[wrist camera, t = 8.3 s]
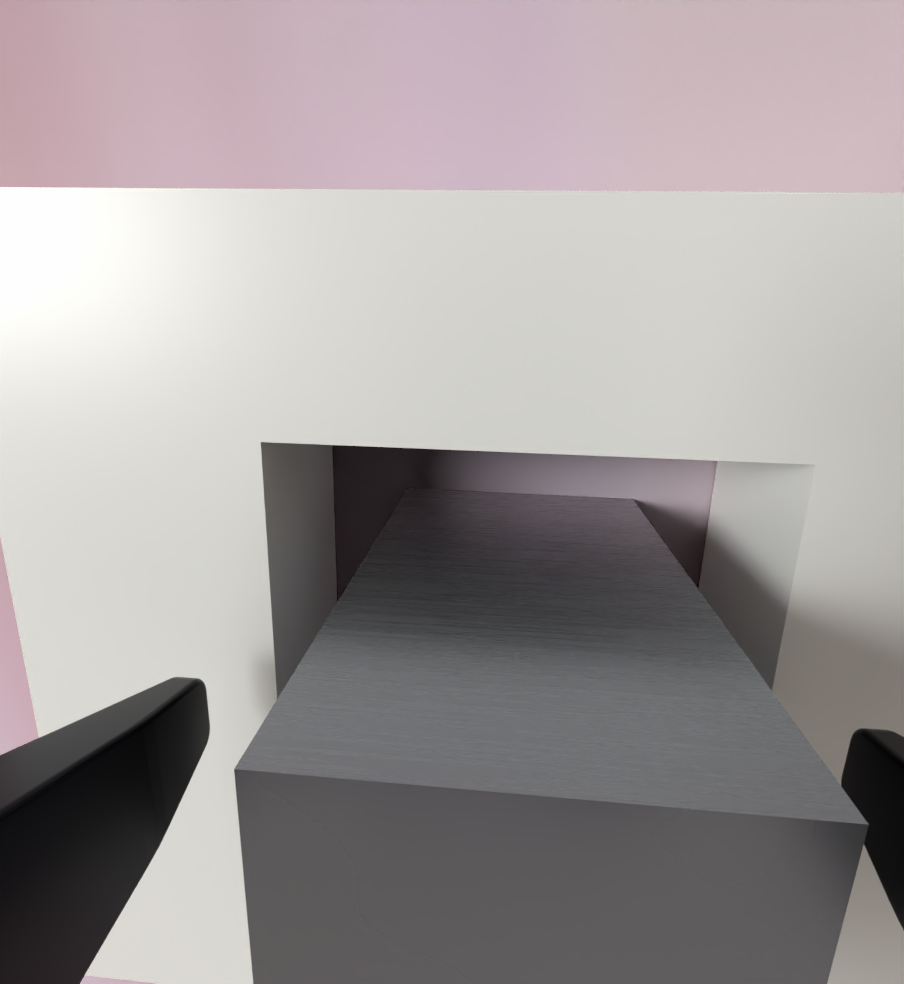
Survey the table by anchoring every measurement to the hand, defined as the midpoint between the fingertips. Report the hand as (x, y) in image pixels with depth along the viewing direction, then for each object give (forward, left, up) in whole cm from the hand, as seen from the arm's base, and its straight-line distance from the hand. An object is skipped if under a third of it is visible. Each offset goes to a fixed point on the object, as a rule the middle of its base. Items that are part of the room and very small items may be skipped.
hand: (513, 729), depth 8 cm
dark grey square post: (0, 0, -4) cm, 4 cm away
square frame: (0, 0, -4) cm, 4 cm away
